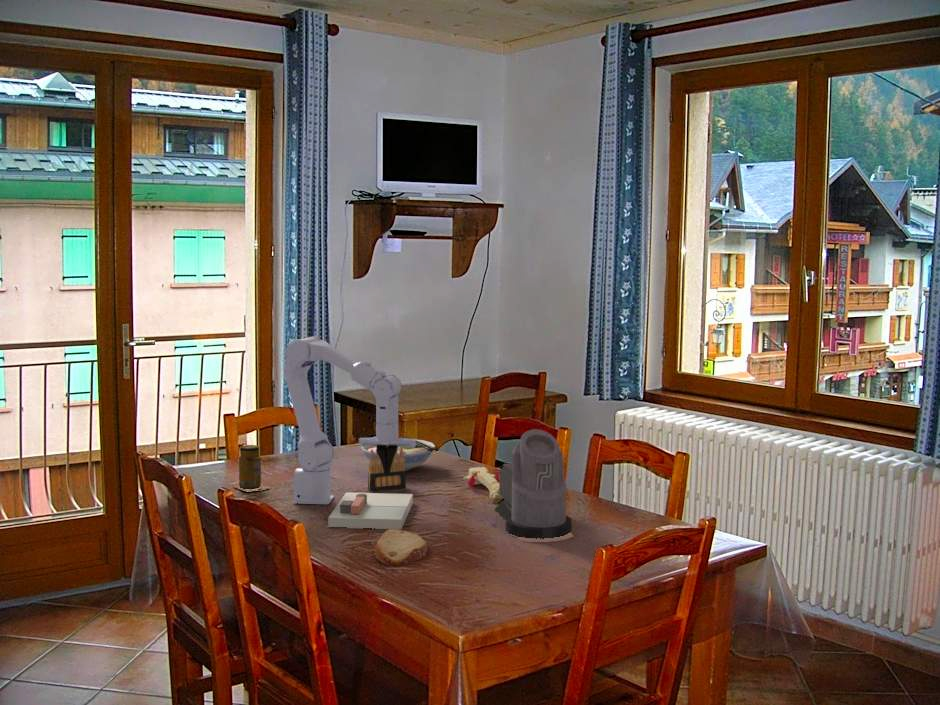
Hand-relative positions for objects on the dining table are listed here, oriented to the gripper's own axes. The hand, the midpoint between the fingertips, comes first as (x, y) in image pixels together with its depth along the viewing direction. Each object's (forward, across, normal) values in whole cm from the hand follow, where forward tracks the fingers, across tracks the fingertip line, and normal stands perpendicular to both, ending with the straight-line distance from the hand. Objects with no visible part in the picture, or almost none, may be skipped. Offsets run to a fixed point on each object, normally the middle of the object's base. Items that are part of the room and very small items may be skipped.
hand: (387, 473), depth 262 cm
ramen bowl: (+10, -3, +44) cm, 45 cm away
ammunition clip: (+10, -3, +20) cm, 22 cm away
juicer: (+10, +38, -11) cm, 40 cm away
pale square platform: (+9, -3, -6) cm, 12 cm away
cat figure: (+10, +26, +20) cm, 34 cm away
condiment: (+10, -41, +17) cm, 45 cm away
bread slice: (+10, +7, -34) cm, 36 cm away
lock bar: (+7, -6, -9) cm, 13 cm away
